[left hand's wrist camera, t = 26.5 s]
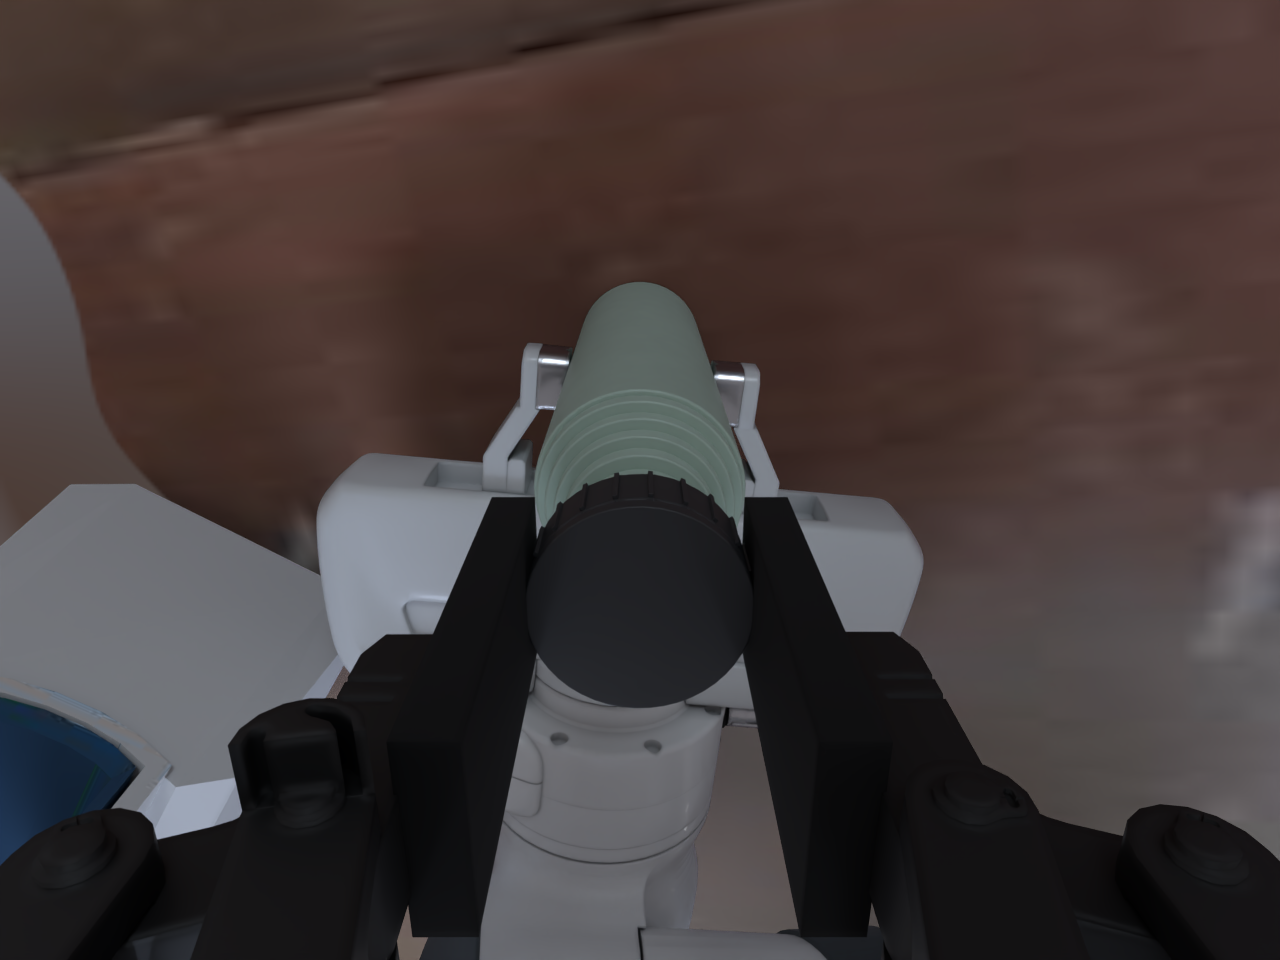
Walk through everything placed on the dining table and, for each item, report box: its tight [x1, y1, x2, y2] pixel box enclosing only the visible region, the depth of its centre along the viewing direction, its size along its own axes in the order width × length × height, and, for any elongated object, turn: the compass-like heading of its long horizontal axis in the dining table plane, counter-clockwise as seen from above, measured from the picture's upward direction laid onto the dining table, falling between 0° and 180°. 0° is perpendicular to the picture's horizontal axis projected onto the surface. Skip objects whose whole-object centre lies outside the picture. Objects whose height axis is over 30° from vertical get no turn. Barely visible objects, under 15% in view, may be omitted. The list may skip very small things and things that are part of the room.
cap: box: [526, 471, 754, 708], centre depth 14 cm, size 4×4×2 cm
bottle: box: [534, 282, 746, 528], centre depth 24 cm, size 5×5×20 cm
